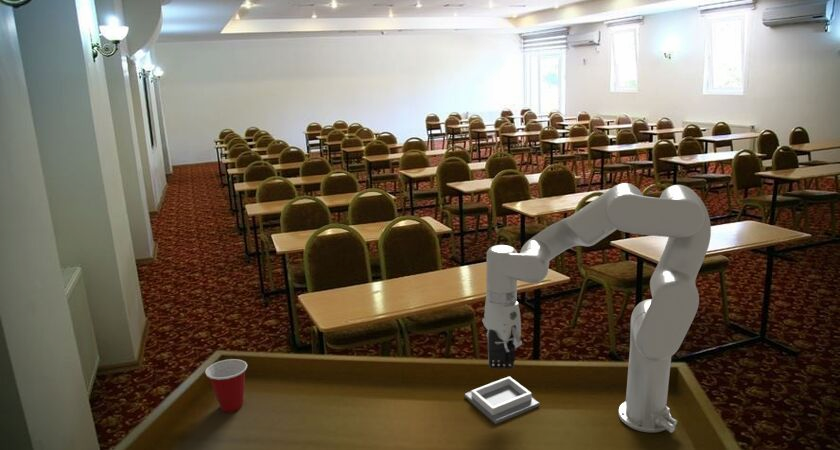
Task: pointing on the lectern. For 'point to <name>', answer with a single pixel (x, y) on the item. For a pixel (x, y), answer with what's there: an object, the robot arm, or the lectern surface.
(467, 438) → the lectern surface
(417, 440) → the lectern surface
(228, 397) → the plastic cup
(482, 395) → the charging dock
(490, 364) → the battery charger
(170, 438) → the lectern surface
